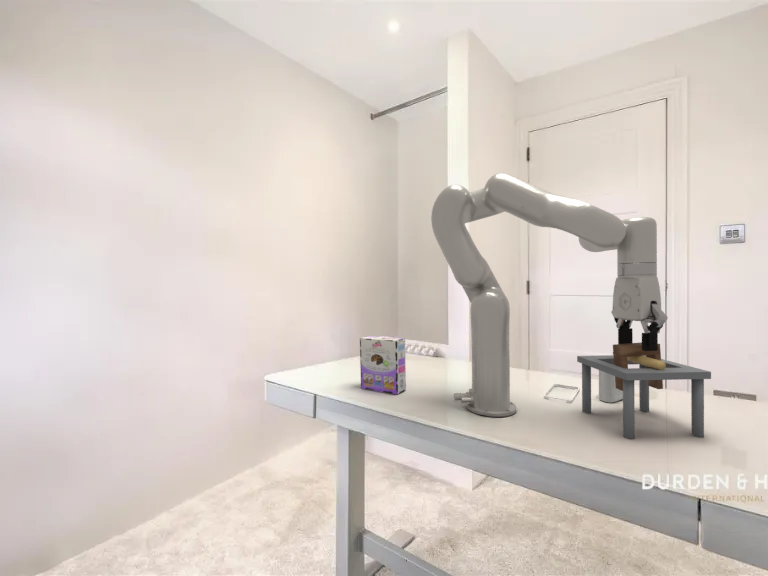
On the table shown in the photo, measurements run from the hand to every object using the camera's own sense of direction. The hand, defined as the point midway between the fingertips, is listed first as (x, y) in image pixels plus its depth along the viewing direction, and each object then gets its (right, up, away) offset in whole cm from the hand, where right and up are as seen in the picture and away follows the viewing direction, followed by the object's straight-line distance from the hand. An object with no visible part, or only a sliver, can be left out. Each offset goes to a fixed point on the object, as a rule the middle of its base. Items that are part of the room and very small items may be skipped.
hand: (636, 347), depth 83 cm
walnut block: (+1, -10, 0) cm, 10 cm away
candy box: (-60, -18, +29) cm, 69 cm away
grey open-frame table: (0, -18, 0) cm, 18 cm away
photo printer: (+6, -18, +17) cm, 26 cm away
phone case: (-6, -18, +22) cm, 29 cm away
